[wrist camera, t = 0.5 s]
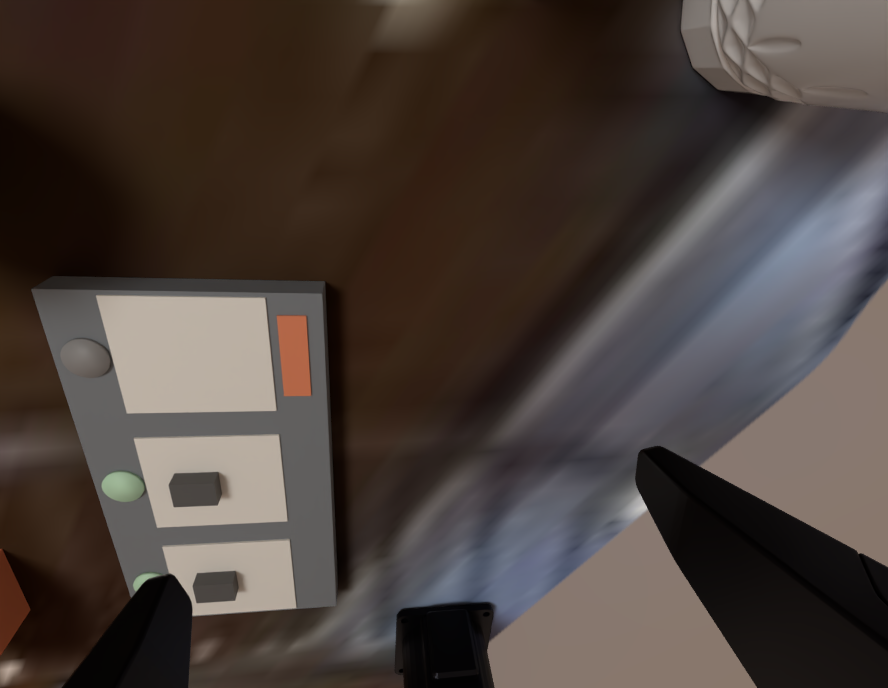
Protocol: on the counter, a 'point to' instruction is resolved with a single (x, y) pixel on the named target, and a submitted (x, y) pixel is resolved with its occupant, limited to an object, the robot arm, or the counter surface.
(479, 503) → the counter surface
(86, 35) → the counter surface
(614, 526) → the counter surface
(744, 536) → the robot arm
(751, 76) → the white cup
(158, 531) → the breaker panel
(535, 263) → the counter surface
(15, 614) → the block
